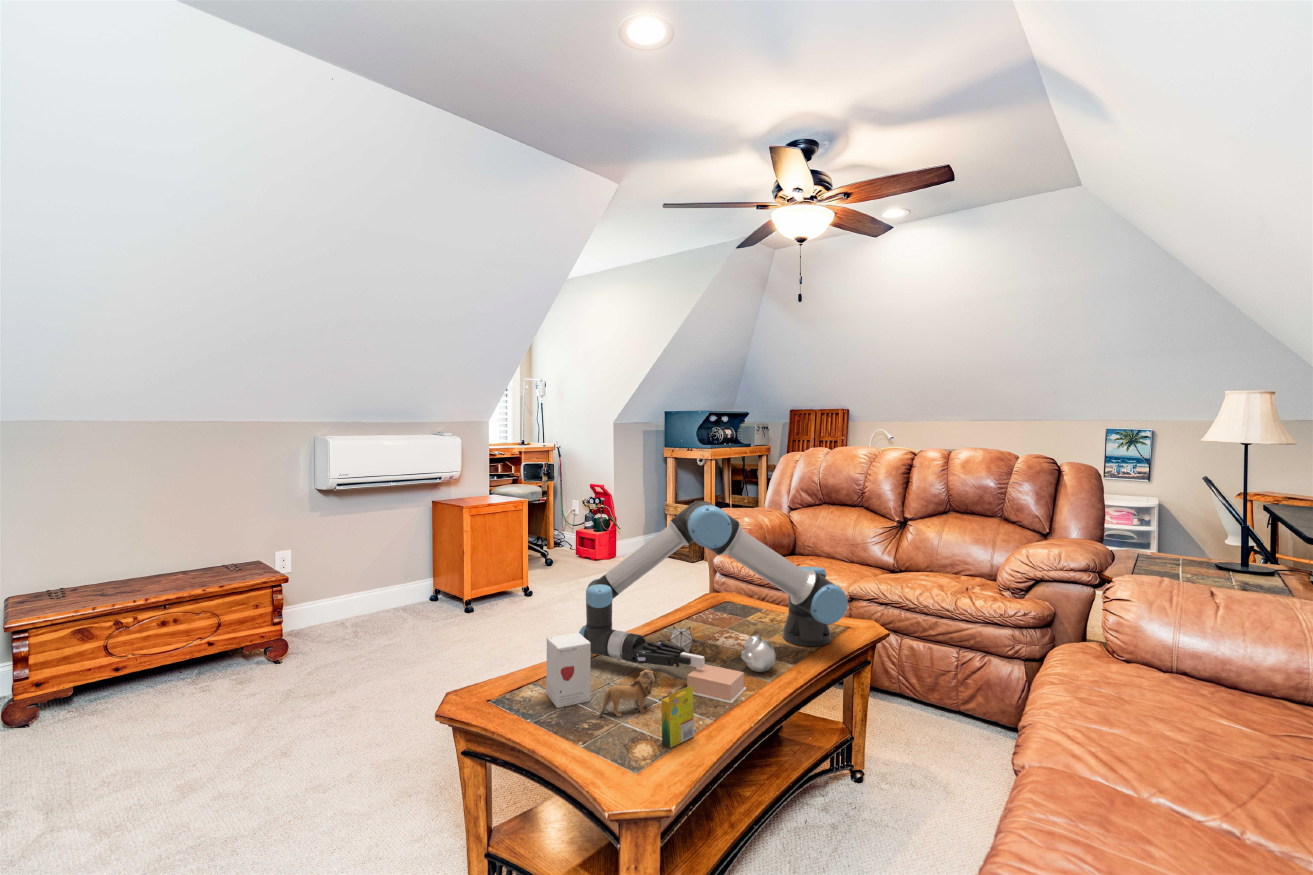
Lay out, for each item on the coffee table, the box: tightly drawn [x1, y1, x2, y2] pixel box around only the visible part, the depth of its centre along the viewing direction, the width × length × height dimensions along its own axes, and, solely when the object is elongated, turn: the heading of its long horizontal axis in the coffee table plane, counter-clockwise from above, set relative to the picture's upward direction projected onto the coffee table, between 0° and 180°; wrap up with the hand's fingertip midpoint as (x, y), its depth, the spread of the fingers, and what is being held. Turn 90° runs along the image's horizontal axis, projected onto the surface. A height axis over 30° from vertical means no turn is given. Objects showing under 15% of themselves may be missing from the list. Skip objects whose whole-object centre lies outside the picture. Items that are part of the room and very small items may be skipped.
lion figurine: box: [598, 669, 656, 718], centre depth 150 cm, size 15×5×9 cm, turn 119°
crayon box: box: [660, 685, 695, 749], centre depth 136 cm, size 7×3×12 cm, turn 131°
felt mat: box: [693, 686, 747, 704], centre depth 161 cm, size 12×10×1 cm
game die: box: [667, 625, 697, 653], centre depth 187 cm, size 9×8×10 cm
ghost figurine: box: [740, 634, 776, 673], centre depth 174 cm, size 9×10×10 cm
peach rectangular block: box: [686, 664, 745, 701], centre depth 161 cm, size 4×9×12 cm
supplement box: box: [545, 632, 592, 709], centre depth 157 cm, size 9×9×15 cm
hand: (703, 662), depth 163 cm, fingers closed
